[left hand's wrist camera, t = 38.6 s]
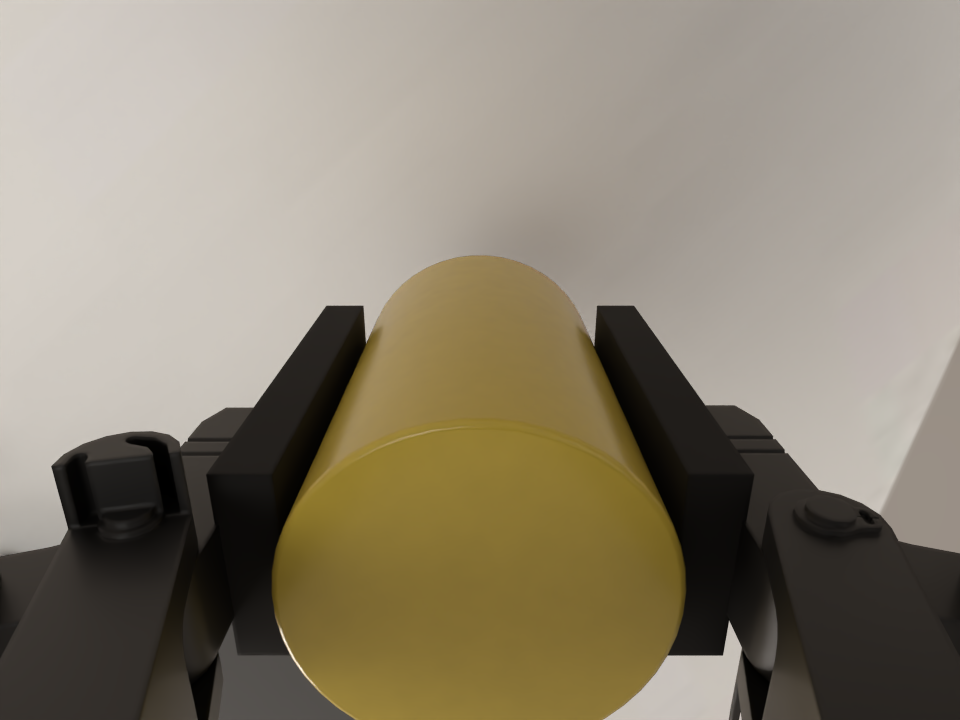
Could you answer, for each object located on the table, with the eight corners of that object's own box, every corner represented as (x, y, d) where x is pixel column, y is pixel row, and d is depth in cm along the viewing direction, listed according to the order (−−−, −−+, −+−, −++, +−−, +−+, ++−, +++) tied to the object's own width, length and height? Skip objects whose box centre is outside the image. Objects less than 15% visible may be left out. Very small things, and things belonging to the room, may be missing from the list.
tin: (452, 492, 16) (431, 805, 9) (324, 335, 14) (180, 562, 7) (629, 388, 15) (759, 650, 8) (511, 207, 13) (544, 335, 6)
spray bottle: (401, 721, 34) (-102, 638, 32) (440, 546, 30) (-133, 443, 28) (392, 777, 31) (-157, 690, 30) (434, 593, 27) (-200, 481, 26)
